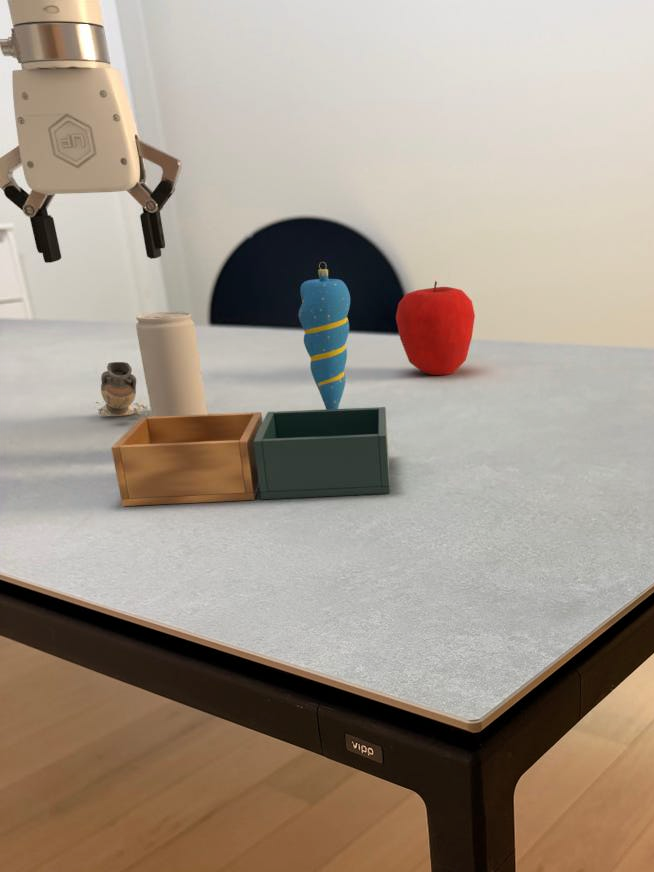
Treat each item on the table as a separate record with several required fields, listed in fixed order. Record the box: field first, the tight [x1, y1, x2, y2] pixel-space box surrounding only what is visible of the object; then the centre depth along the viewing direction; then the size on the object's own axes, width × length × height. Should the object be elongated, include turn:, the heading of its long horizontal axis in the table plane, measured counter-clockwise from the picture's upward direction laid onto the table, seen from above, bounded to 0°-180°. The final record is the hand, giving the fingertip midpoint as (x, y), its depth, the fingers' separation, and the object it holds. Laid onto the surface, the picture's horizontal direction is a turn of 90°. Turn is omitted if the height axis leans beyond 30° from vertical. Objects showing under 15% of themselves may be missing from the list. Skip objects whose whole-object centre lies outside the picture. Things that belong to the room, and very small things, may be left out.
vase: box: [91, 361, 149, 417], centre depth 98 cm, size 5×5×6 cm
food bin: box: [110, 411, 263, 507], centre depth 77 cm, size 10×10×5 cm
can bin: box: [254, 406, 391, 500], centre depth 78 cm, size 10×10×5 cm
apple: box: [395, 280, 476, 376], centre depth 117 cm, size 10×10×11 cm
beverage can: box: [135, 311, 208, 417], centre depth 84 cm, size 5×5×12 cm
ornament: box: [298, 261, 351, 410], centre depth 95 cm, size 5×5×15 cm
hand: (104, 259), depth 92 cm, fingers open, 9 cm apart
